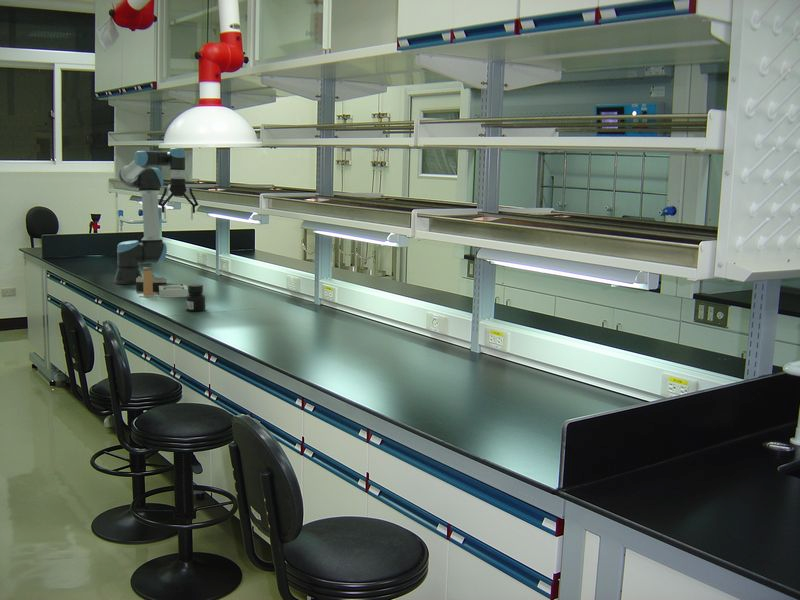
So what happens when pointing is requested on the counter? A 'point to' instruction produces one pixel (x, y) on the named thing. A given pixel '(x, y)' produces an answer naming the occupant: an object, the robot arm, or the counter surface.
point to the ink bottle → (195, 298)
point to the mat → (148, 295)
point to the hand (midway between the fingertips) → (178, 219)
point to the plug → (147, 281)
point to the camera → (156, 283)
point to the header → (173, 290)
